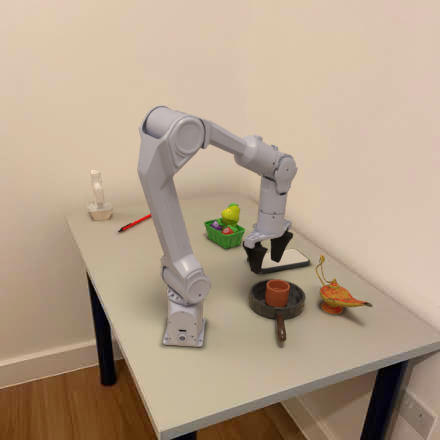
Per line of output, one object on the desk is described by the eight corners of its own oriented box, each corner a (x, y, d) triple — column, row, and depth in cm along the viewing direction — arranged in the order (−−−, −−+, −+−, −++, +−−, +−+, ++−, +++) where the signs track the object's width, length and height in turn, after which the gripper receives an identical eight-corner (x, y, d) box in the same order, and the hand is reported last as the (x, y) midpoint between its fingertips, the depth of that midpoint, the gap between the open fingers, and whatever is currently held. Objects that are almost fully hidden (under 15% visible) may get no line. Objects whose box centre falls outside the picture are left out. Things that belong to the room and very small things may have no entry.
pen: (117, 232, 134) (117, 229, 133) (155, 213, 148) (155, 209, 147) (119, 233, 133) (119, 229, 133) (157, 213, 148) (157, 210, 147)
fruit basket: (202, 237, 133) (202, 202, 127) (225, 231, 138) (226, 196, 132) (225, 252, 126) (227, 214, 120) (248, 244, 130) (251, 208, 124)
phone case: (294, 252, 128) (245, 260, 122) (294, 247, 127) (245, 255, 121) (311, 266, 121) (260, 275, 115) (312, 261, 120) (261, 269, 114)
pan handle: (274, 313, 98) (275, 307, 97) (282, 314, 98) (283, 307, 97) (277, 343, 89) (278, 337, 88) (286, 344, 89) (287, 337, 88)
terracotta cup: (288, 309, 101) (291, 292, 99) (264, 308, 101) (267, 290, 99) (286, 297, 106) (289, 280, 103) (264, 296, 106) (265, 278, 103)
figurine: (91, 224, 139) (85, 177, 131) (87, 213, 146) (81, 167, 138) (114, 221, 141) (110, 175, 133) (109, 210, 148) (104, 166, 140)
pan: (306, 322, 98) (308, 310, 96) (249, 318, 98) (250, 306, 97) (300, 291, 109) (301, 280, 107) (248, 288, 109) (249, 277, 107)
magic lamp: (353, 336, 94) (364, 293, 88) (300, 296, 107) (307, 255, 101) (376, 328, 97) (388, 285, 91) (322, 289, 110) (329, 250, 104)
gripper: (276, 196, 99) (270, 250, 107) (234, 212, 90) (231, 271, 97) (302, 205, 95) (294, 260, 103) (262, 223, 86) (256, 282, 93)
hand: (265, 266), depth 100 cm, fingers open, 7 cm apart
